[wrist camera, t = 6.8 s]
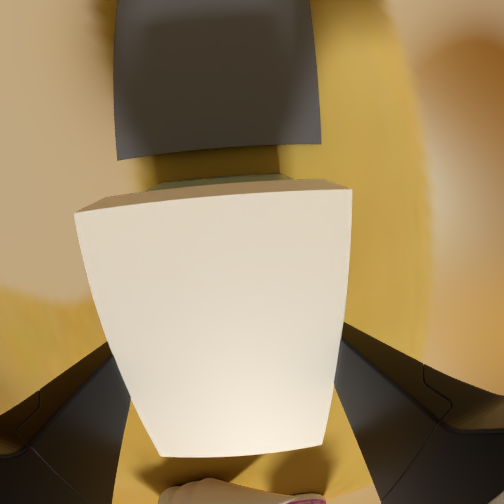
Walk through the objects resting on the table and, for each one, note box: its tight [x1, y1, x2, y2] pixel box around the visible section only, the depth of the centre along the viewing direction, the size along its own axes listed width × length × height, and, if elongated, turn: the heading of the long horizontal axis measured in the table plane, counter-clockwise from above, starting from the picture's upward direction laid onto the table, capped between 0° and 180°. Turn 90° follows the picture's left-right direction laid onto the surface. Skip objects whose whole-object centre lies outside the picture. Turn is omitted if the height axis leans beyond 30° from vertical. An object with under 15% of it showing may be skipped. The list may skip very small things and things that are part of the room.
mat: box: [113, 0, 321, 160], centre depth 10 cm, size 9×11×1 cm
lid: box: [74, 179, 352, 457], centre depth 8 cm, size 6×9×2 cm, turn 3°
